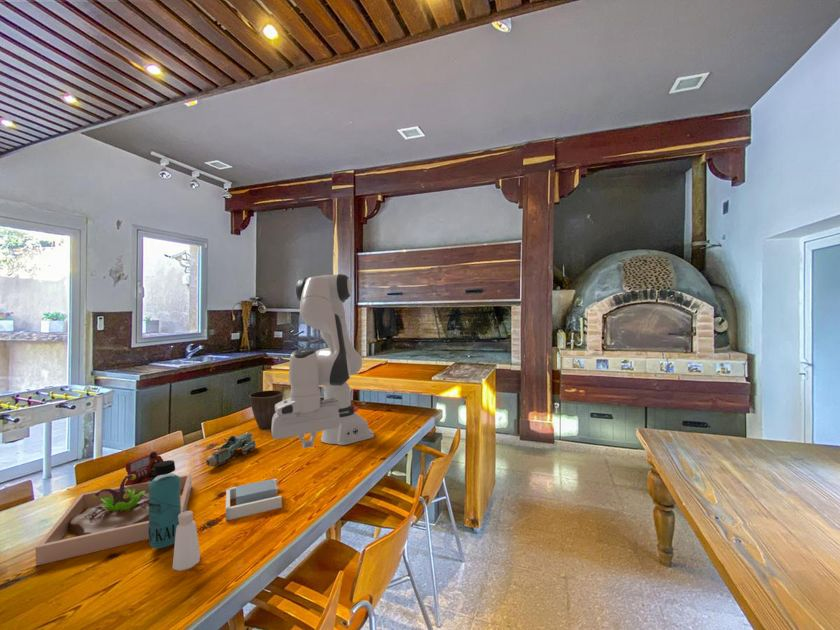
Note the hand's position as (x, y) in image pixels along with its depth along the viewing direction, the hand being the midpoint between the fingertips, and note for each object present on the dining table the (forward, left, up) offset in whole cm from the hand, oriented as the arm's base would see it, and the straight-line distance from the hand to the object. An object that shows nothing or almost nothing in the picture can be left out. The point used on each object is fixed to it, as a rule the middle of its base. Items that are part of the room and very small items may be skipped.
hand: (307, 446), depth 114 cm
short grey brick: (+15, 0, -14) cm, 20 cm away
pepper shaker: (+30, +21, -14) cm, 39 cm away
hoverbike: (+21, -41, -14) cm, 48 cm away
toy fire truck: (+45, -27, -14) cm, 54 cm away
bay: (+15, 0, -14) cm, 20 cm away
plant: (+47, -9, -14) cm, 50 cm away
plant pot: (+6, -75, -14) cm, 76 cm away
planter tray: (+46, -7, -14) cm, 48 cm away
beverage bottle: (+35, +12, -14) cm, 39 cm away
